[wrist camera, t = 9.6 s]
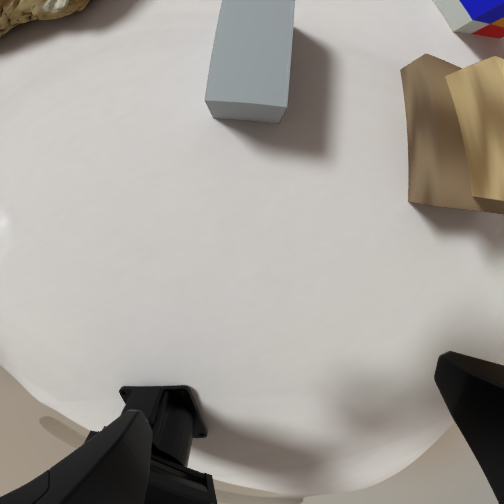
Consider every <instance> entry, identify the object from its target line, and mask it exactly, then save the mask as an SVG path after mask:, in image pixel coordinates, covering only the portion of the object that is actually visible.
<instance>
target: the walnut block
mask: <svg viewBox="0 0 504 504" xmlns="http://www.w3.org/2000/svg"><path fill="white" fill-rule="evenodd" d="M461 69H462V68H460V67H458V66H455V65H453V64H451V63H449V62H446V61H444V60H441V59H439V58H436V57H434V56H431V55H429V54H424V55H423V56H421V57H419V58H418V59H416V60H415V61H413V62H412V63H410V64H409V65H407V66H405V67H404V68H402V69H401V70H400V71H401V77H402V84H403V92H404V100H405V109H406V121H407V135H408V161H409V188H408V202H414V203H420V204H426V205H432V206H438V207H448V208H458V209H467V210H476V211H484V212H492V213H499V214H504V201H501V200H495V199H488V198H481V197H474V196H472V190H471V182H470V175H469V168H468V162H467V157H466V151H465V146H464V141H463V137H462V132H461V128H460V124H459V120H458V116H457V113H456V109H455V106H454V102H453V99H452V96H451V92H450V89H449V86H448V83H447V81H446V78H445V76H447V75H449V74H451V73H454V72H456V71H458V70H461Z"/></svg>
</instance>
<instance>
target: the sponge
mask: <svg viewBox="0 0 504 504" xmlns="http://www.w3.org/2000/svg"><path fill="white" fill-rule="evenodd" d="M90 1H91V0H0V37H1V36H2V35H4V34H6V33H7V32H9V31H10V30H11V29H12V28H14V27H15V26H16V25H18V24H21V23H26V22H29V21H31V20H35V19H39V20H52V19H58V18H61V17H64V16H67V15H70V14H72V13H73V12H75V11H79V12H80V11H81V10H83V9H84V8H85V7H86V6H87V4H88V3H89V2H90Z"/></svg>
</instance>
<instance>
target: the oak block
mask: <svg viewBox="0 0 504 504" xmlns="http://www.w3.org/2000/svg"><path fill="white" fill-rule="evenodd" d="M445 78H446V81H447V83H448V86H449V89H450V92H451V96H452V99H453V102H454V106H455V109H456V113H457V116H458V120H459V124H460V128H461V132H462V137H463V141H464V146H465V151H466V157H467V162H468V168H469V175H470V182H471V190H472V196H474V197H481V198H488V199H495V200H501V201H504V59H502V58H500V57H497V56H493V57H490V58H487V59H485V60H482V61H480V62H477V63H475V64H472V65H470V66H468V67H465V68H463V69H461V70H458V71H456V72H454V73H451V74H449V75H447V76H445Z"/></svg>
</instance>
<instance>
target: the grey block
mask: <svg viewBox="0 0 504 504" xmlns="http://www.w3.org/2000/svg"><path fill="white" fill-rule="evenodd" d="M294 7H295V0H222V4H221V9H220V14H219V19H218V24H217V29H216V34H215V39H214V45H213V50H212V56H211V62H210V68H209V74H208V81H207V87H206V94H205V102H206V104H207V106H208V108H209V110H210V112H211V114H212V116H213V118H219V119H235V120H248V121H258V122H268V123H276V124H279V122H280V120H281V118H282V116H283V114H284V112H285V110H286V109H287V103H288V91H289V79H290V66H291V52H292V38H293V23H294Z"/></svg>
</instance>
